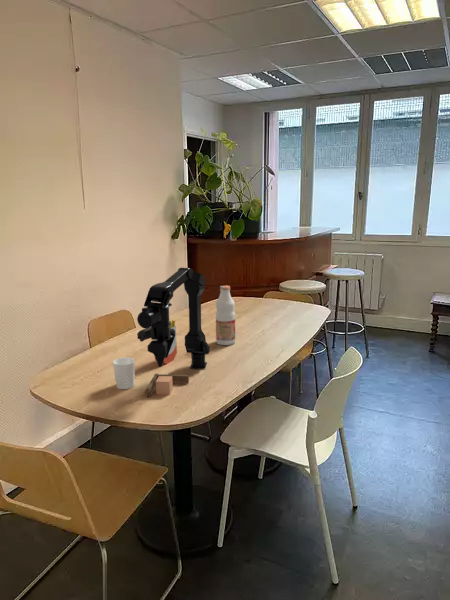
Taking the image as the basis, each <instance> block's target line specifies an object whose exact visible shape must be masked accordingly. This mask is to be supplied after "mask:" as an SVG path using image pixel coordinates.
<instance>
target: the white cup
mask: <svg viewBox="0 0 450 600" xmlns="http://www.w3.org/2000/svg"><path fill="white" fill-rule="evenodd" d="M112 363H113V370H114V371H113V372H114V378H115V385H116V388H117V389H120V390H128V389H132V388H133V387H135V379H136V367H135V359H134V358H132V357H128V356H127V357H126V356H125V357H117V358H116V359H114V360H113V362H112Z"/></svg>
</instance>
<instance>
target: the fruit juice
mask: <svg viewBox="0 0 450 600" xmlns="http://www.w3.org/2000/svg"><path fill="white" fill-rule="evenodd" d="M219 291H220V293H219V296H218V298H217V300H216V302H215V307H216V312H215V342H216V344H217V345H220V346H232V345H234V344H235V343H236V312H235V308H236V304H235V300H234V299H233V298H232V295H231V292H230V291H231V286H230V285H220V286H219Z"/></svg>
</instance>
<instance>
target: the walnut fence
mask: <svg viewBox="0 0 450 600" xmlns="http://www.w3.org/2000/svg"><path fill="white" fill-rule="evenodd" d="M159 376H172V381H173V384H187V385H188V384H189V381H190V378H189V376H190V375H188V374H161V373H160V374H159V373H154V374H153V377H152V378H151V380H150V381H149V383H148V385H147V387H146V388H145V397H147V398H150V397H151V395H152V394H153V392H154V390H155V389H156V380H157V379H158V377H159Z"/></svg>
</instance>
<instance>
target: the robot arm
mask: <svg viewBox="0 0 450 600" xmlns="http://www.w3.org/2000/svg"><path fill="white" fill-rule="evenodd" d="M206 281H207V280H206V278H205V276H204V274H202V273H199V272H197V271H195V270H193V268H190V267H180V268H178V269H177V271H175V272H174V273H173V274H172V275H171V276H169V278H167V279H166V280H165V281H163V282H158V283H155V284H153V285H151V286H150V287H149V290H148V291H147V292H148V293H147V294H146V298H145V301H144V303H143V307H141V312H139V313H138V315H137V319H136V320H137V324H138V325H139V326H140V327H141V328H142V329H141V330H139V331H138V332H137V334H136V335H137V339H138V340H139V342H141V343H142V342H144V341H145V340H146V341H147V340H148V339H150V340H151V341H150V342H149V343H148V345H147V352H149V353H151V354H152V355H153V357H154V359H155V358H156V360H155V361H156V364H157V366H158V368H162V367H163V364H164V363H163V362H164V359H165V358H167V357H168V354H169V352H170V349H171V346H172V343H173V341H174V337H175V330H174V329H170V325H171V322H172V321H171V322H169V321H170V307H171V306H173V305H172V303H171V302H170V301H171V300H172V299H173V297H174V293H175V291H176V290H177V289H178V288H180V287H181V286H182V285H183V286H184V291H185V292H186V294H187V296H188V323H189V324H188V327H189V328H188V329H189V330H188V332H187V334H185V336H184V346H185V351H186V353H188V354H191V363H190V365H189V369H192V370H193V369H195V370H196V369H197V370H205V369H206V367H207V365H208V362H207V361H206V355H209V354H210V351H211V347H210V345H209V344H208V342H207V340H206V334H205V333H204V331H203V330H202V294H203V292H204V290H205V289H206ZM171 336H172V337H171ZM155 339H156V340H155Z"/></svg>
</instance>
